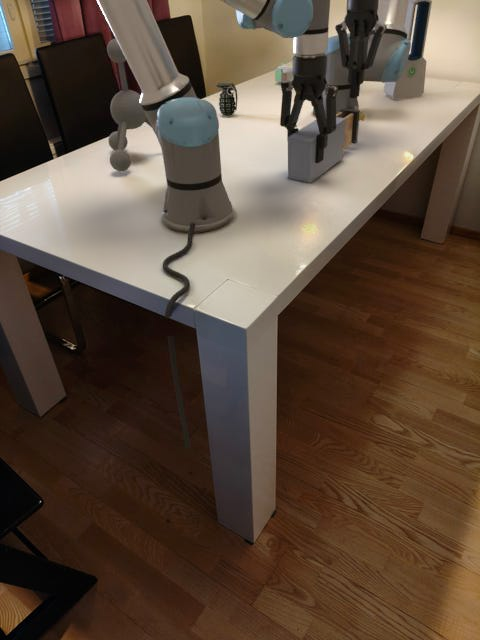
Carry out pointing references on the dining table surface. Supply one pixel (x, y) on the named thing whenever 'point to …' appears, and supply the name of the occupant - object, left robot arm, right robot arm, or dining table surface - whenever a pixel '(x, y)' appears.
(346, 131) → the drawer
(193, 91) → the left robot arm
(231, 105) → the grenade
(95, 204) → the dining table surface
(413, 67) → the electronic device
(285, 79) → the decorative block
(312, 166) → the cabinet
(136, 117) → the molecular model
